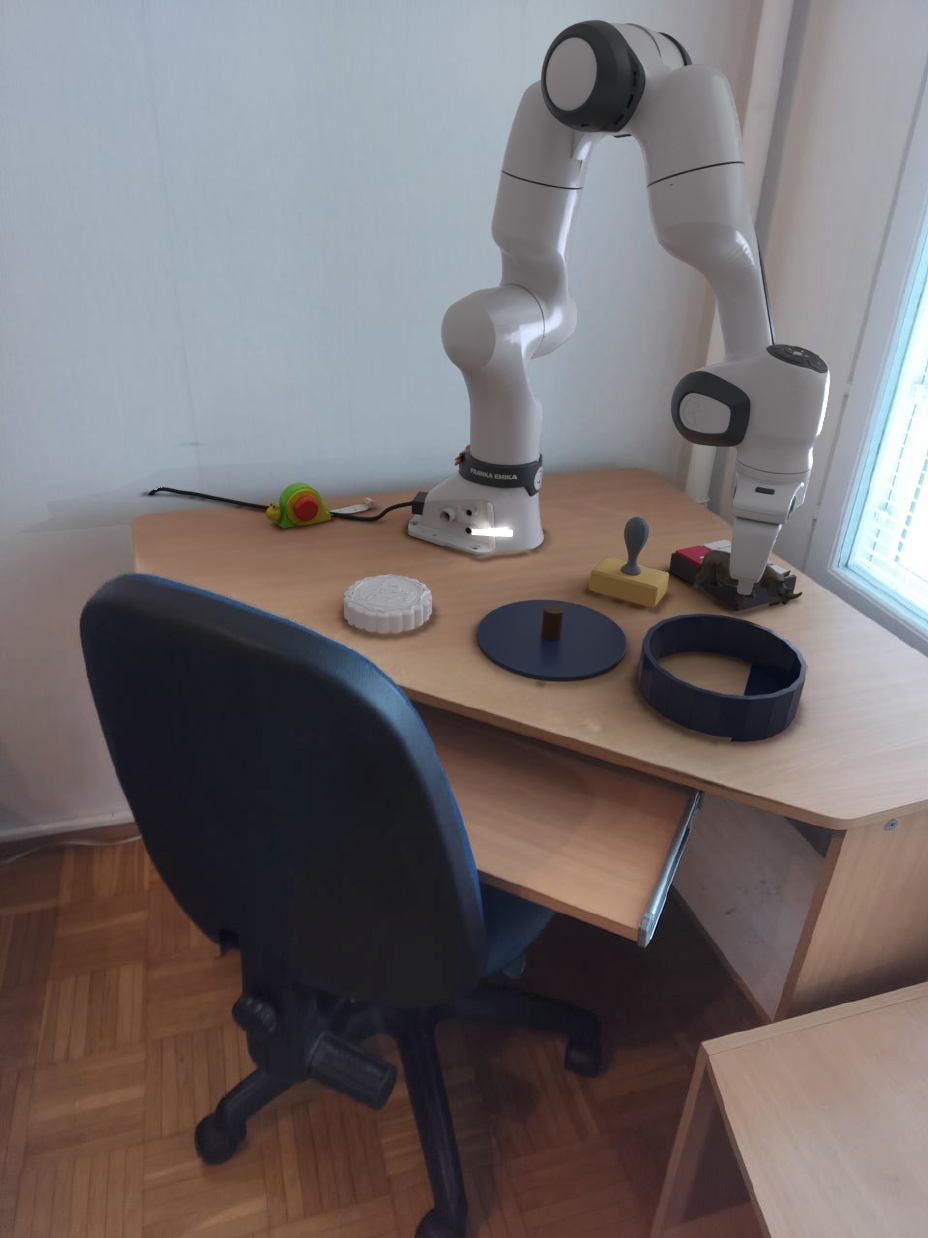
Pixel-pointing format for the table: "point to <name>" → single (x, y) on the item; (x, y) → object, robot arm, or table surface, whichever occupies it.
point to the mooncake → (387, 604)
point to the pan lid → (551, 640)
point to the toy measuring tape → (306, 507)
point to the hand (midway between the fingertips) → (747, 583)
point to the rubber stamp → (630, 571)
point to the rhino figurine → (719, 567)
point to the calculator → (688, 567)
